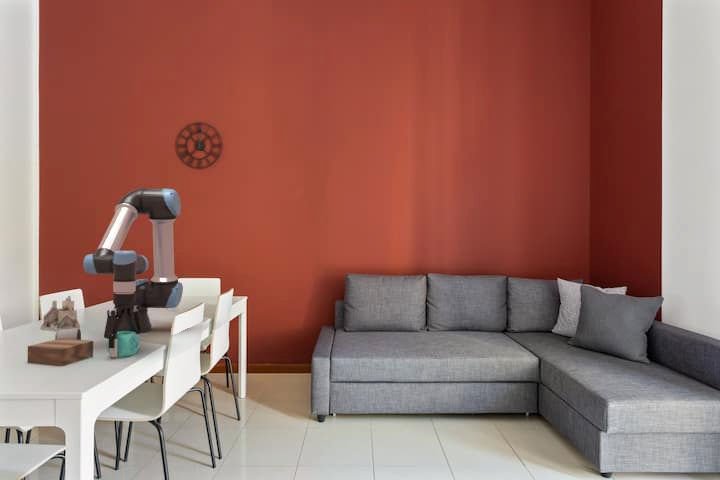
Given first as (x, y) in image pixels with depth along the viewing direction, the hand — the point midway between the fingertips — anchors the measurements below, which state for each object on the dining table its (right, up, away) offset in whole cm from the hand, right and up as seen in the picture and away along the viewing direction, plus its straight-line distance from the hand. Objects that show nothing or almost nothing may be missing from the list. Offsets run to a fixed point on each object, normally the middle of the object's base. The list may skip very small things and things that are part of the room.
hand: (123, 354), depth 188 cm
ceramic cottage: (-51, +1, +46) cm, 69 cm away
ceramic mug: (-25, 0, +8) cm, 26 cm away
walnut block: (-18, 0, -9) cm, 20 cm away
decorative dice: (0, 0, 0) cm, 0 cm away
